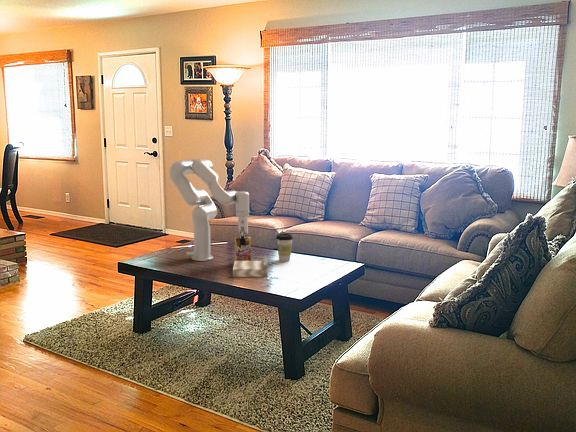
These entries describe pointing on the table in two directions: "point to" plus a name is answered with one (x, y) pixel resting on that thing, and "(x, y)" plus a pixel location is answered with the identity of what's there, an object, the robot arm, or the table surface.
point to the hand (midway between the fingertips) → (243, 243)
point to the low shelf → (250, 268)
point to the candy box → (243, 250)
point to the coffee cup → (284, 246)
